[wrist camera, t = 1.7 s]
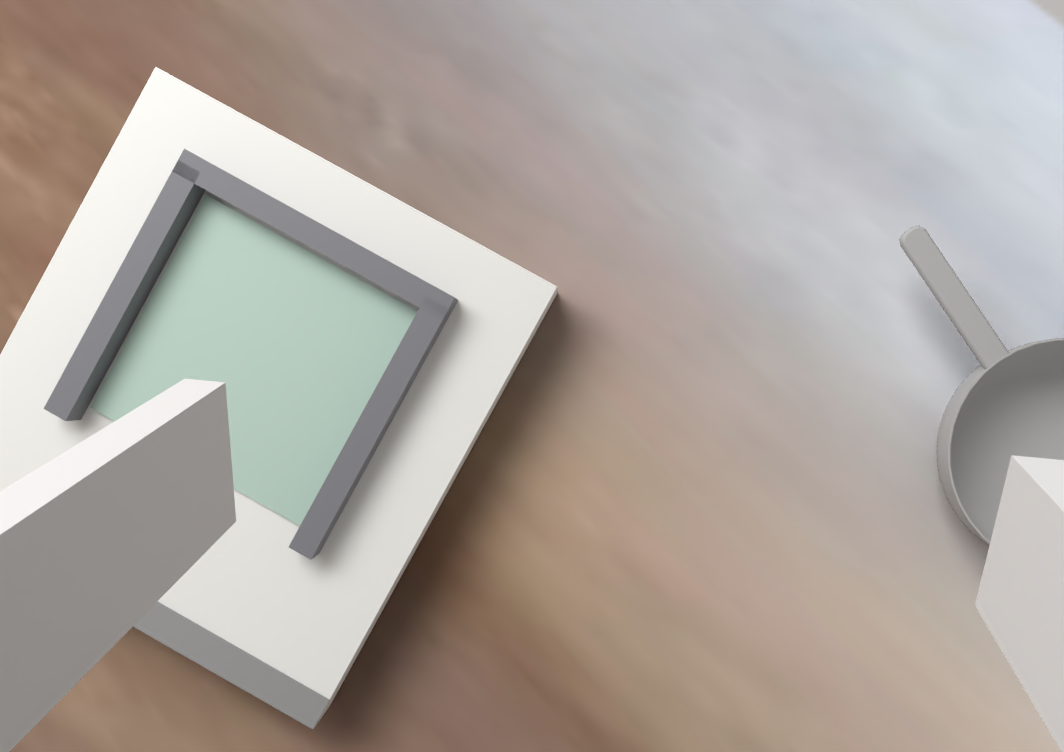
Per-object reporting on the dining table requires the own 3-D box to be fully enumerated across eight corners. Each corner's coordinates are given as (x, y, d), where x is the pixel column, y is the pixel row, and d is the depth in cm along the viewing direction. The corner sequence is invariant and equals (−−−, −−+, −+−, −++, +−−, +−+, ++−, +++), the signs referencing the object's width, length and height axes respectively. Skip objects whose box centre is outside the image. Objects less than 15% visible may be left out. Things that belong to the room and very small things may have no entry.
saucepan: (999, 599, 43) (1042, 621, 39) (790, 304, 44) (812, 297, 40) (1181, 476, 43) (1242, 486, 39) (968, 179, 43) (1008, 160, 39)
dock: (330, 705, 44) (305, 740, 40) (-37, 495, 45) (-101, 507, 41) (557, 292, 44) (556, 283, 40) (182, 87, 45) (142, 56, 40)
